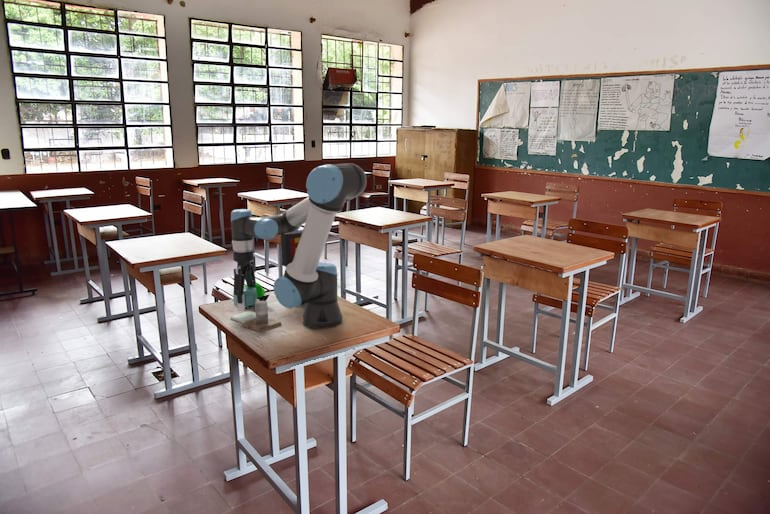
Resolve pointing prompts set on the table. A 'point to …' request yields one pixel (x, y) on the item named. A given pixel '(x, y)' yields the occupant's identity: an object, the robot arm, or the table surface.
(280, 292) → the robot arm
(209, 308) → the table surface
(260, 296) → the toy
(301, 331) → the table surface
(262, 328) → the post stand
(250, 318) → the mat
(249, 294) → the cap
